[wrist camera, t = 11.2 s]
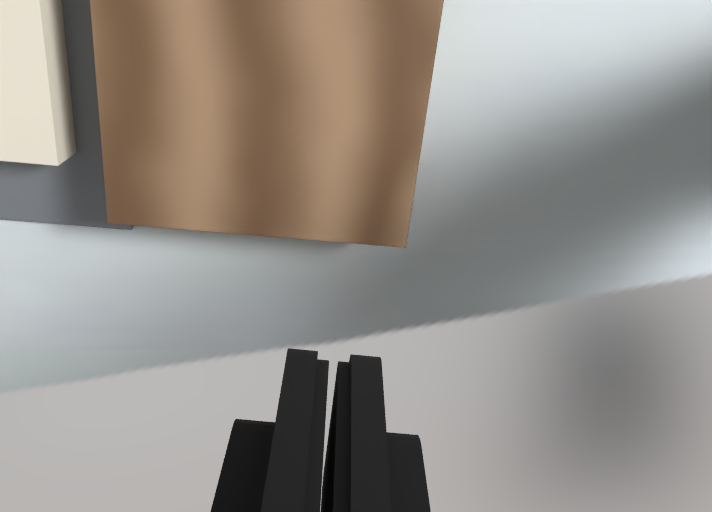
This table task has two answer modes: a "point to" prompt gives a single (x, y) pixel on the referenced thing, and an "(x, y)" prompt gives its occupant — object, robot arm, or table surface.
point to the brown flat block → (265, 114)
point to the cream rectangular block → (34, 84)
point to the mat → (83, 169)
